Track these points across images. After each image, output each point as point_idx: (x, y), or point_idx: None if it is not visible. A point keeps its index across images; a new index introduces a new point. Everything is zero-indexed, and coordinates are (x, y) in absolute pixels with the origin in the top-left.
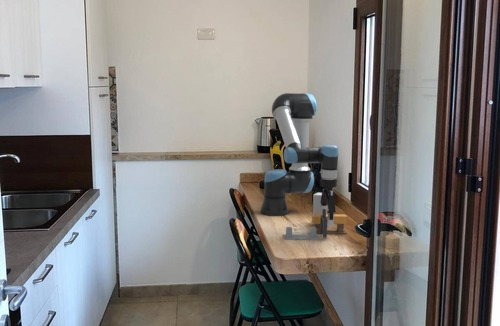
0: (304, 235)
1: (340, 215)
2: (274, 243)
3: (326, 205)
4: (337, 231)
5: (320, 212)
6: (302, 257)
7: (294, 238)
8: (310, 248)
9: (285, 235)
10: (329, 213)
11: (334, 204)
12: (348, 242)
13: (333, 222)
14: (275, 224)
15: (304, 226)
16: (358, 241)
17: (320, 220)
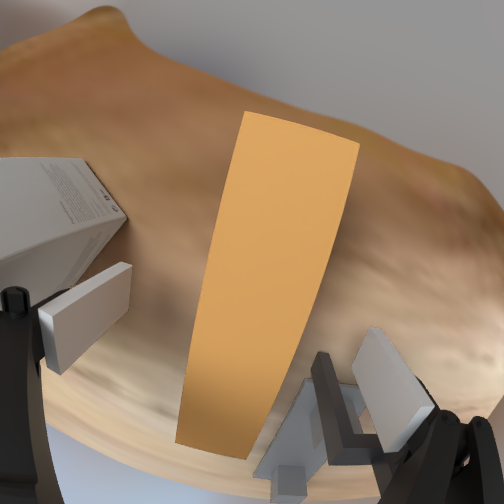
0: (300, 432)
1: (285, 202)
2: (330, 495)
3: (6, 272)
4: None
5: (42, 286)
6: None
7: (322, 464)
8: None
9: (270, 475)
10: (402, 437)
11: (498, 480)
12: (473, 269)
13: (393, 348)
14: (89, 423)
15: (110, 349)
16: (478, 205)
17: (325, 432)
